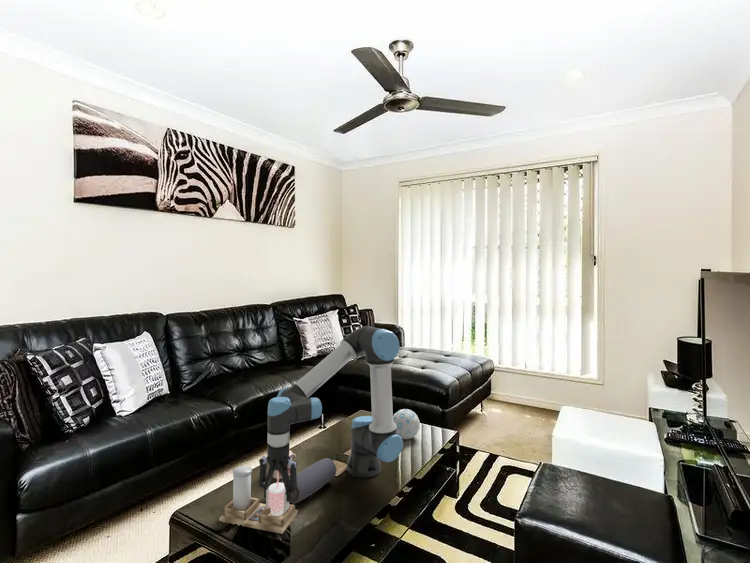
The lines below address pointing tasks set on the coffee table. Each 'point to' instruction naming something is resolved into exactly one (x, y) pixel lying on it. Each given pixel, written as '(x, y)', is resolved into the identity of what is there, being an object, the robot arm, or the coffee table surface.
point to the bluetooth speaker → (313, 479)
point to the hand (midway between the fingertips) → (277, 508)
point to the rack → (258, 517)
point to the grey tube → (242, 488)
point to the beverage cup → (277, 497)
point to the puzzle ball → (406, 423)
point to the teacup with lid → (287, 466)
